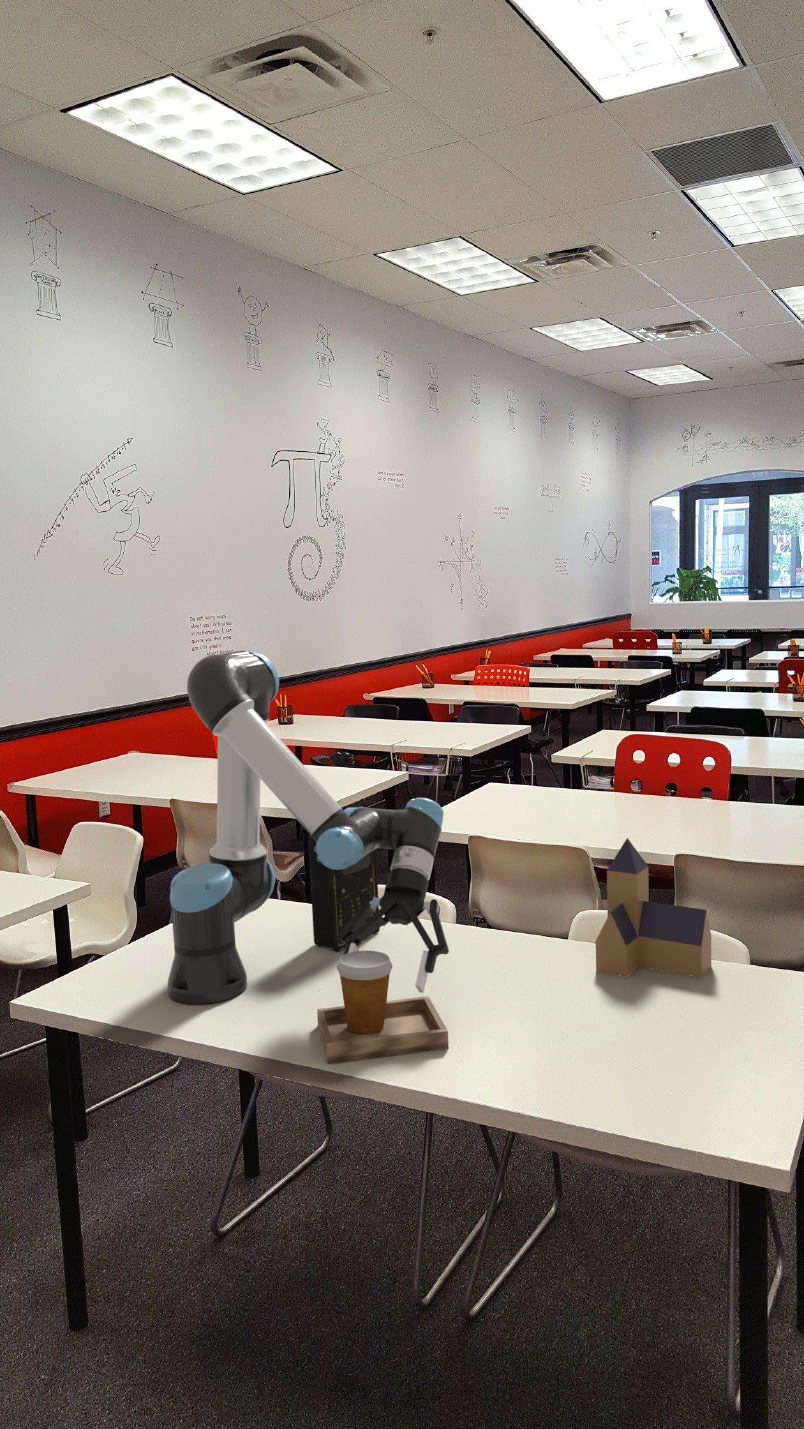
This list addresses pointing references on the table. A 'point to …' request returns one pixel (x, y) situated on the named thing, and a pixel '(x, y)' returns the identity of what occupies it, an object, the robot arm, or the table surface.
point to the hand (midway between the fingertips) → (382, 985)
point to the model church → (648, 925)
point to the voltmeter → (339, 895)
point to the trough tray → (384, 1032)
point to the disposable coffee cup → (365, 989)
